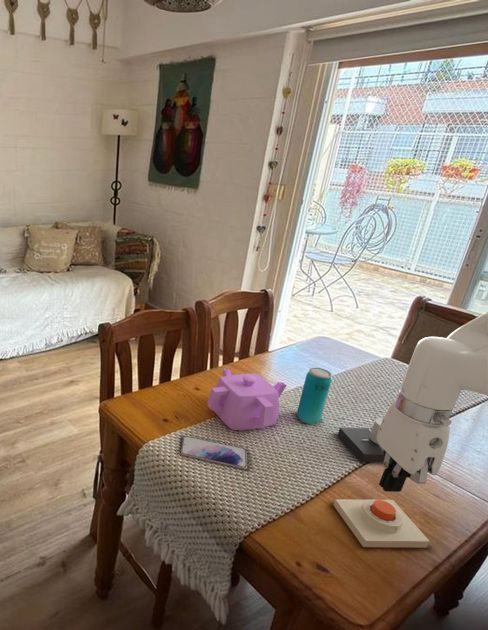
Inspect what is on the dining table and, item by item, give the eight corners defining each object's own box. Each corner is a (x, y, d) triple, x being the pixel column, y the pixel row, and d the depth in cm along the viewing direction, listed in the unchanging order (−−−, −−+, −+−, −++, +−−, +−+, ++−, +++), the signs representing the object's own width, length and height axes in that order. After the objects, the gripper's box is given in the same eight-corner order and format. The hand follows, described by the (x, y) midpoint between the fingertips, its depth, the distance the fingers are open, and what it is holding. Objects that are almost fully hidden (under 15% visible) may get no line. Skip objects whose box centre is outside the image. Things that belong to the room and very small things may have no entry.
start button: (385, 506, 87) (387, 499, 86) (397, 521, 84) (400, 514, 83) (367, 506, 87) (369, 499, 86) (379, 521, 84) (381, 514, 83)
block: (389, 507, 91) (395, 493, 90) (426, 549, 82) (433, 534, 81) (332, 507, 91) (337, 492, 90) (362, 549, 82) (368, 533, 80)
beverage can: (323, 427, 116) (337, 378, 111) (301, 426, 116) (314, 377, 111) (312, 414, 122) (325, 367, 116) (292, 414, 122) (303, 366, 116)
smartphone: (247, 468, 100) (180, 453, 105) (246, 471, 101) (180, 456, 105) (246, 448, 106) (183, 435, 111) (245, 451, 107) (182, 438, 111)
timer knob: (365, 434, 109) (371, 416, 107) (383, 434, 109) (389, 416, 107) (376, 446, 105) (383, 427, 103) (395, 446, 105) (401, 428, 103)
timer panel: (390, 437, 113) (394, 427, 111) (419, 464, 103) (424, 454, 102) (336, 437, 113) (339, 427, 111) (360, 464, 103) (364, 453, 102)
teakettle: (202, 422, 118) (208, 382, 113) (218, 393, 131) (225, 356, 126) (270, 444, 109) (280, 403, 105) (280, 411, 123) (289, 373, 118)
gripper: (481, 435, 69) (440, 521, 76) (412, 384, 83) (382, 461, 90) (434, 433, 69) (397, 520, 76) (373, 383, 83) (346, 460, 90)
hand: (389, 488), depth 83 cm, fingers closed
